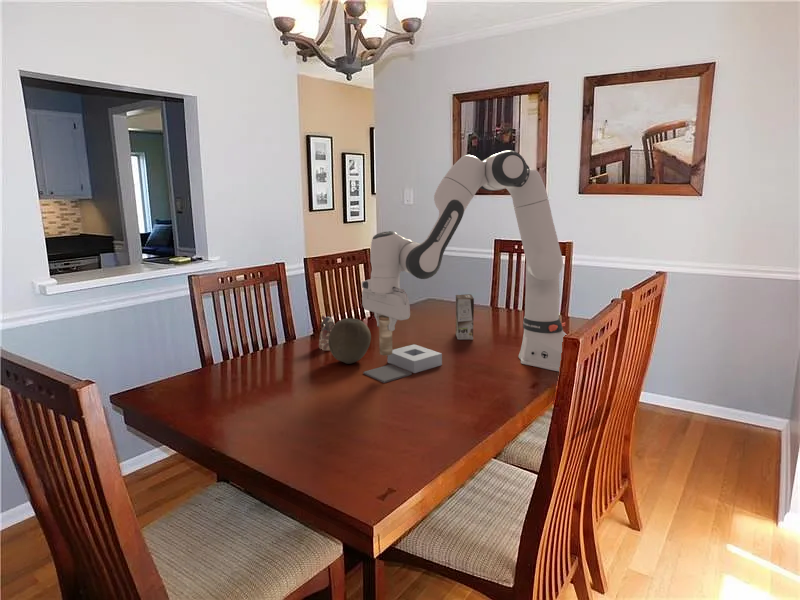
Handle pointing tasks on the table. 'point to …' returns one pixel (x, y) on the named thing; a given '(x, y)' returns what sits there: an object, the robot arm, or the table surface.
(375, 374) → the mat
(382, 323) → the peg
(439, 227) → the robot arm
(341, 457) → the table surface
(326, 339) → the figurine
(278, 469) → the table surface
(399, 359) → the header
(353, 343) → the cantaloupe
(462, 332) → the coffee box
